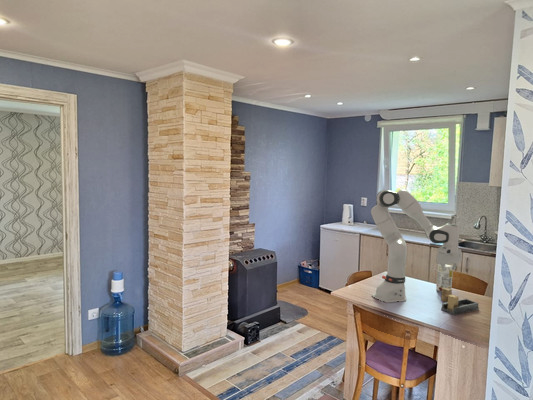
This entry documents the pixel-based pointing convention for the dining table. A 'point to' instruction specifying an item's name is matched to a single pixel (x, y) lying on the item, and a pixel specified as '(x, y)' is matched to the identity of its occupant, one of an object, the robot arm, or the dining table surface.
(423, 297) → the dining table surface
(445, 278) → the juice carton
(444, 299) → the brown wooden block
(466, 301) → the grey tray with block
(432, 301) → the dining table surface
